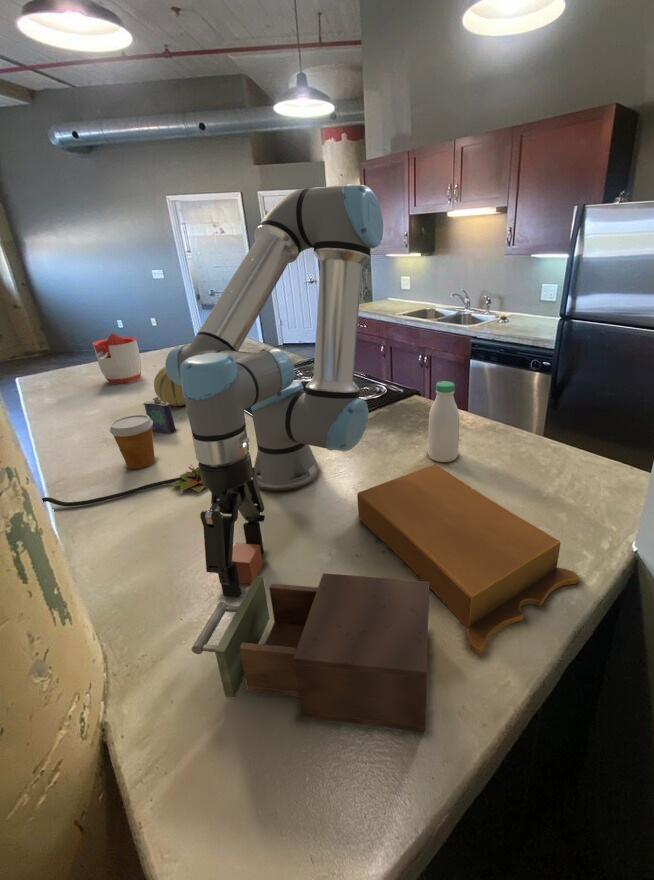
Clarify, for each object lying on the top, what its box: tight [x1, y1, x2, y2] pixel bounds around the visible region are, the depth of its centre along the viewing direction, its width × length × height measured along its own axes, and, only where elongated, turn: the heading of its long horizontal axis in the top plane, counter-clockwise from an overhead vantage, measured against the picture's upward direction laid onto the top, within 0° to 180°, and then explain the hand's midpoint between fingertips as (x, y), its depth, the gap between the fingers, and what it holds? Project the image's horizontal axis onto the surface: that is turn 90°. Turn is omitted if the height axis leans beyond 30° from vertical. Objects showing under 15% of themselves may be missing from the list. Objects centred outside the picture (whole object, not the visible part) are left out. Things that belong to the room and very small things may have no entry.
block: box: [232, 542, 264, 585], centre depth 71 cm, size 4×4×4 cm
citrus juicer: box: [92, 332, 142, 384], centre depth 172 cm, size 16×17×20 cm
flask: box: [143, 396, 177, 434], centre depth 126 cm, size 9×3×11 cm, turn 71°
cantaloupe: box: [153, 366, 186, 407], centre depth 145 cm, size 15×15×15 cm
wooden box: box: [356, 463, 580, 654], centre depth 75 cm, size 23×6×35 cm
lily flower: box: [170, 462, 206, 493], centre depth 99 cm, size 12×12×5 cm
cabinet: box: [293, 572, 430, 732], centre depth 53 cm, size 15×13×10 cm
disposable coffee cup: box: [109, 414, 156, 470], centre depth 106 cm, size 10×10×12 cm
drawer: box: [191, 575, 318, 699], centre depth 54 cm, size 18×12×8 cm, turn 83°
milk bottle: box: [427, 380, 460, 463], centre depth 105 cm, size 8×8×20 cm
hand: (245, 572), depth 71 cm, fingers open, 9 cm apart
